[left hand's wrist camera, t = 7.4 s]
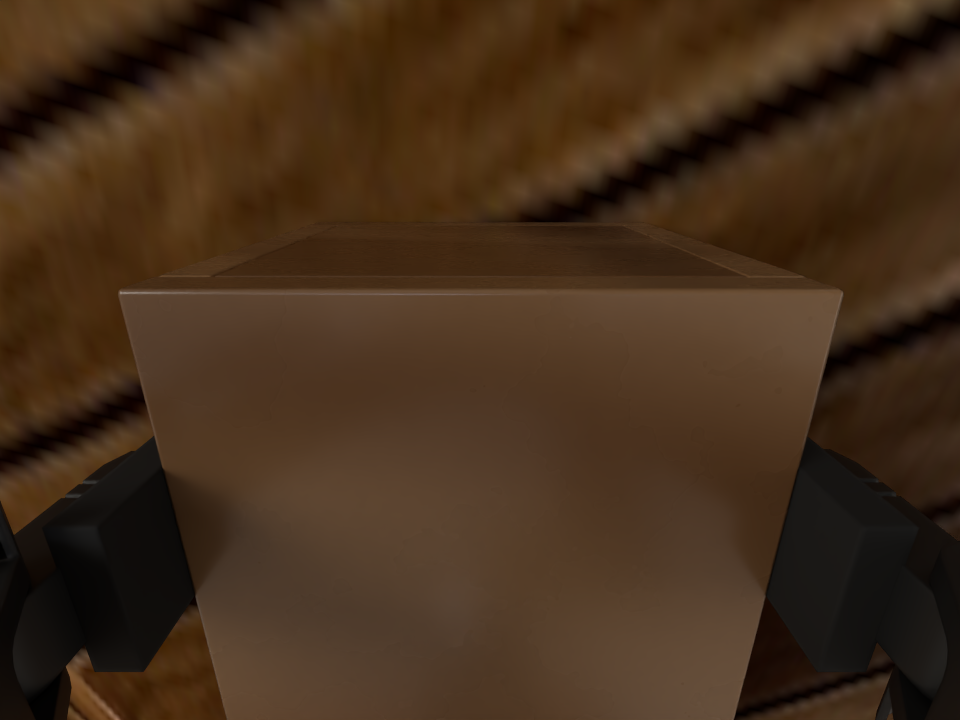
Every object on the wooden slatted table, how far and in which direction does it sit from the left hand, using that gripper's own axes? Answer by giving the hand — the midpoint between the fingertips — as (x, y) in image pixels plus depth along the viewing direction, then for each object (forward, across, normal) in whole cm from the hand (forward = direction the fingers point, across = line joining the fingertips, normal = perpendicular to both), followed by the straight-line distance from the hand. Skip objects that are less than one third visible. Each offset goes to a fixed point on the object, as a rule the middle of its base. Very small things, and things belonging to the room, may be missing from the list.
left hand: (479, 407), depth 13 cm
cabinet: (+4, 0, -6) cm, 8 cm away
